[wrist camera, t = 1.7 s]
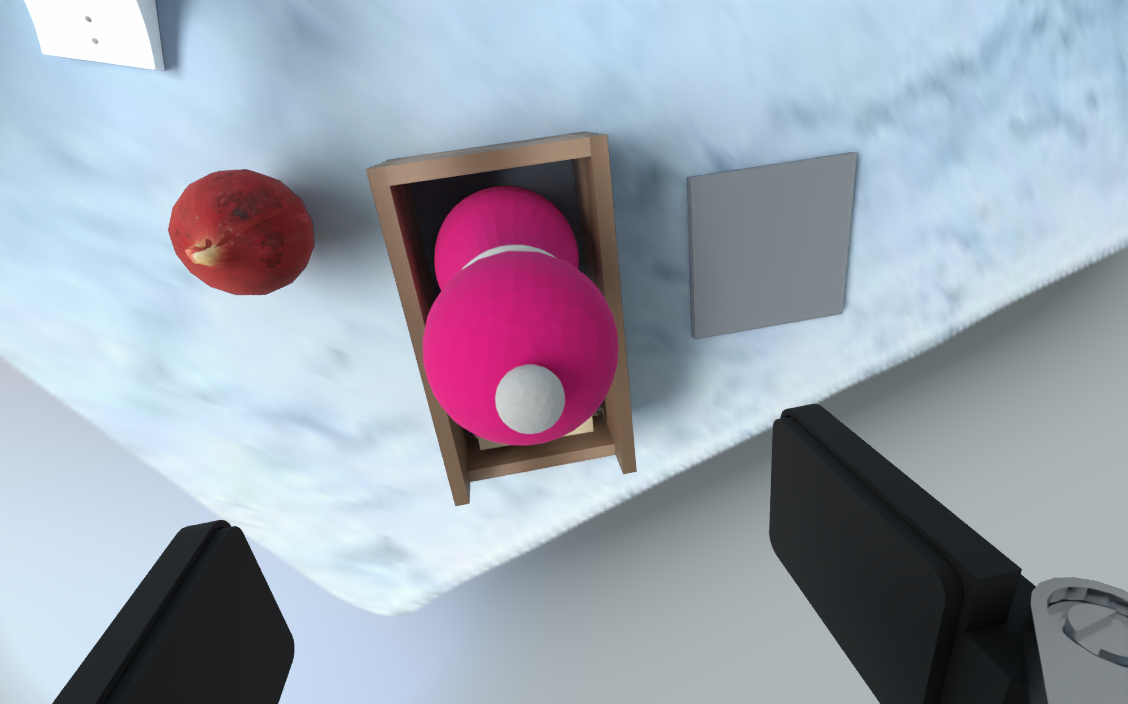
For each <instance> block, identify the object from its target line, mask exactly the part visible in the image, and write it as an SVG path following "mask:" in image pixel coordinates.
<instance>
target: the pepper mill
mask: <svg viewBox="0 0 1128 704" xmlns="http://www.w3.org/2000/svg"><path fill="white" fill-rule="evenodd" d="M434 260H435V272H436V277H437V281H438V284H439V287H440V289H441V292H440V294H439V295H438V297H437V298H436V300H435V301H434V303H433V305H432V307H431V310H430V312H429V314H428V317H427V321H426V326H425V331H424V336H423V364H424V368H425V372H426V376H427V379H428V382H429V384H430V387H431V389H432V392H433V394H434V396H435V397H436V399H437V400H438V402H439V403H440V405H441V407H442V408H443V409H444V410H445V411H446V412H447V414H448V415H449V416H450V417H451V418H452V419H453V420H454V421H455V422H456V423H458V424H459V425H460V426H462V427H463V428H465V429H466V430H468V431H470V432H471V433H473V434H475V435H477V436H478V437H481V438H484V439H487V440H490V441H492V442H497V443H502V444H508V445H524V446H528V445H534V444H541V443H546V442H549V441H552V440H555V439H558V438H560V437H562V436H564V435H566V434H568V433H570V432H572V431H574V430H575V429H577V428H578V427H579V426H580V425H582V424H583V423H584V422H586V421H587V420H588V419H589V418H590V417H591V416H592V415H593V414H594V413H595V412H596V411H597V409H598V408H599V406H600V405H601V404H602V402H603V401H604V399H605V398H606V396H607V393H608V391H609V389H610V387H611V385H612V383H613V379H614V375H615V372H616V368H617V364H618V346H619V345H618V334H617V328H616V324H615V321H614V317H613V314H612V312H611V310H610V308H609V306H608V304H607V302H606V299H605V297H604V296H603V294H602V293H601V292H600V290H599V289H598V288H597V286H596V285H595V284H594V283H593V282H592V281H591V280H590V279H589V278H588V277H587V276H586V275H585V274H583V273H582V272H581V271H579V252H578V246H577V242H576V239H575V236H574V234H573V231H572V229H571V227H570V224H569V223H568V221H567V220H566V218H565V217H564V215H563V214H562V212H561V211H560V210H559V209H558V208H557V207H556V206H555V205H554V204H553V203H552V202H550V201H549V200H548V199H546V198H545V197H543V196H542V195H539V194H537V193H535V192H533V191H531V190H528V189H524V188H521V187H513V186H496V187H491V188H486V189H483V190H480V191H478V192H475V193H473V194H471V195H470V196H468V197H466V198H465V199H463V200H462V201H461V202H460V203H458V204H457V205H456V206H455V207H454V208H453V209H452V210H451V212H450V213H449V214H448V215H447V217H446V218H445V220H444V222H443V223H442V225H441V228H440V230H439V233H438V235H437V240H436V244H435V258H434Z"/></svg>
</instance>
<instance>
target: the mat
mask: <svg viewBox="0 0 1128 704" xmlns="http://www.w3.org/2000/svg"><path fill="white" fill-rule="evenodd" d="M856 161H857V153H851V152H850V153H844V154H837V155H831V156H824V157H818V158H811V159H804V160H798V161H791V162H785V163H778V164H771V165H765V166H758V167H752V168H745V169H739V170H732V171H725V172H719V173H712V174H706V175H699V176H693V177H687V188H688V220H689V251H690V283H691V315H692V336H693V337H694V338H695V339H701V338H706V337H712V336H718V335H723V334H729V333H735V332H741V331H746V330H752V329H758V328H764V327H769V326H775V325H781V324H786V323H792V322H798V321H804V320H809V319H815V318H821V317H827V316H832V315H838V314H842V313H843V302H844V291H845V280H846V270H847V259H848V248H849V237H850V226H851V215H852V204H853V194H854V183H855V172H856Z"/></svg>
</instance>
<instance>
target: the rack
mask: <svg viewBox="0 0 1128 704" xmlns="http://www.w3.org/2000/svg"><path fill="white" fill-rule="evenodd" d="M569 159H573V166H574V175H575V184H576V193H577V201H578V210H579V219H580V228H581V236H582V245H583V254H584V263H585V271H586V276H587V277H588V278H589V279H590V280H591V281H592V282H593V283H594V284H595V285H596V286H597V288H598V289H599V290H600V292H601V293H602V294H603V296H604V297H605V299H606V302H607V304H608V306H609V308H610V310H611V312H612V314H613V317H614V321H615V324H616V328H617V334H618V345H619V346H618V364H617V368H616V372H615V375H614V379H613V383H612V385H611V387H610V389H609V391H608V393H607V396H606V398H605V399H604V401H603V402H602V404H601V412H597V414H598V415H594V416H592V421H593V432H587V433H581V434H575V435H569V436H563V437H560V438H558V439H555V440H552V441H549V442H546V443H541V444H534V445H528V446H524V445H508V446H502V447H496V448H490V449H484V450H480V445H479V440H478V438H475V435H470V436H469V432H468V430H466V429H465V428H463V427H462V426H460V425H459V424H458V423H456V422H455V421H454V420H453V419H452V418H451V417H450V416H449V415H448V414H447V412H446V411H445V410H444V409H443V408H442V407H441V405H440V403H439V402H438V400H437V399H436V397H435V396H434V394H433V392H432V389H431V387H430V384H429V382H428V379H427V376H426V372H425V368H424V364H423V336H424V331H425V326H426V321H427V317H428V314H429V312H430V310H431V307H432V305H433V303H434V301H435V300H436V298H437V297H436V292H435V288H434V284H433V280H432V275H431V271H430V267H429V263H428V258H427V254H426V250H425V246H424V242H423V237H422V233H421V229H420V225H419V220H418V216H417V212H416V208H415V204H414V199H413V195H412V191H411V187H410V183H412V182H419V181H426V180H433V179H440V178H446V177H453V176H460V175H467V174H474V173H480V172H487V171H494V170H501V169H508V168H514V167H521V166H528V165H535V164H542V163H548V162H555V161H562V160H569ZM366 172H367V176H368V179H369V183H370V187H371V191H372V194H373V198H374V202H375V206H376V209H377V213H378V217H379V221H380V225H381V228H382V232H383V236H384V240H385V243H386V247H387V251H388V255H389V258H390V262H391V266H392V270H393V273H394V277H395V281H396V285H397V288H398V292H399V296H400V300H401V303H402V307H403V311H404V315H405V318H406V322H407V326H408V330H409V333H410V337H411V341H412V345H413V348H414V352H415V356H416V360H417V363H418V367H419V371H420V375H421V379H422V382H423V386H424V390H425V394H426V397H427V401H428V405H429V409H430V412H431V416H432V420H433V424H434V427H435V431H436V435H437V439H438V442H439V446H440V450H441V454H442V457H443V461H444V465H445V469H446V472H447V476H448V480H449V484H450V487H451V491H452V495H453V499H454V502H455V506H459V505H465V504H469V503H470V482H473V481H479V480H484V479H489V478H494V477H500V476H505V475H510V474H516V473H521V472H526V471H532V470H537V469H542V468H548V467H553V466H558V465H563V464H569V463H574V462H579V461H585V460H590V459H595V458H601V457H606V456H611V455H616V457H617V460H618V462H619V465H620V467H621V470H622V472H623V474H627V473H632V472H637V471H636V459H635V448H634V436H633V425H632V414H631V402H630V391H629V379H628V368H627V357H626V345H625V334H624V322H623V311H622V300H621V288H620V277H619V265H618V254H617V242H616V231H615V220H614V208H613V197H612V185H611V174H610V163H609V151H608V140H607V135H606V134H598V133H590V132H579V133H572V134H565V135H558V136H552V137H545V138H538V139H531V140H524V141H517V142H510V143H503V144H496V145H489V146H482V147H475V148H468V149H461V150H454V151H447V152H440V153H433V154H426V155H419V156H412V157H405V158H398V159H391V160H387V161H385V162H382V163H380V164H378V165H375V166H373V167H370V168H368V169H366Z"/></svg>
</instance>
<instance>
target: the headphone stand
mask: <svg viewBox="0 0 1128 704" xmlns="http://www.w3.org/2000/svg"><path fill="white" fill-rule="evenodd" d="M24 1H25V3H26V5H27V8H28V10H29V13H30V15H31V18H32V20H33V23H34V26H35V29H36V32H37V35H38V38H39V42H40V46H41V50H42V54H46V55H53V56H60V57H67V58H75V59H82V60H89V61H96V62H103V63H110V64H118V65H125V66H132V67H139V68H146V69H153V70H161V71H165V68H164V61H163V54H162V46H161V39H160V32H159V25H158V17H157V10H156V3H155V0H24Z"/></svg>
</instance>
